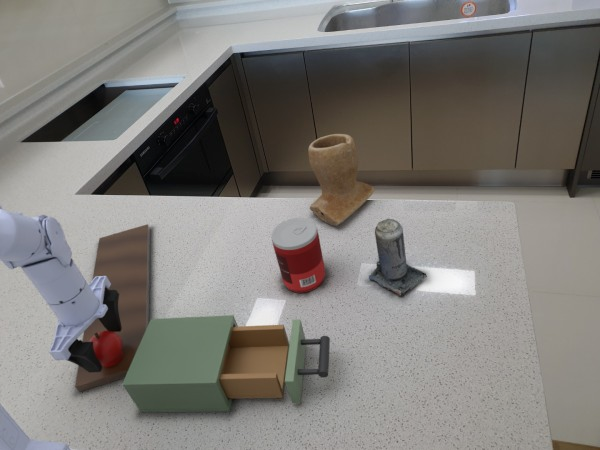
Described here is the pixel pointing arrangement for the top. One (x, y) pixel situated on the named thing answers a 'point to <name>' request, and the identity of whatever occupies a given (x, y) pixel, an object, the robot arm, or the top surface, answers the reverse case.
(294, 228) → the canned food
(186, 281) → the top surface
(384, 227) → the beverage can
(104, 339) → the apple
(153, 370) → the cabinet
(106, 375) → the board
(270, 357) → the drawer
